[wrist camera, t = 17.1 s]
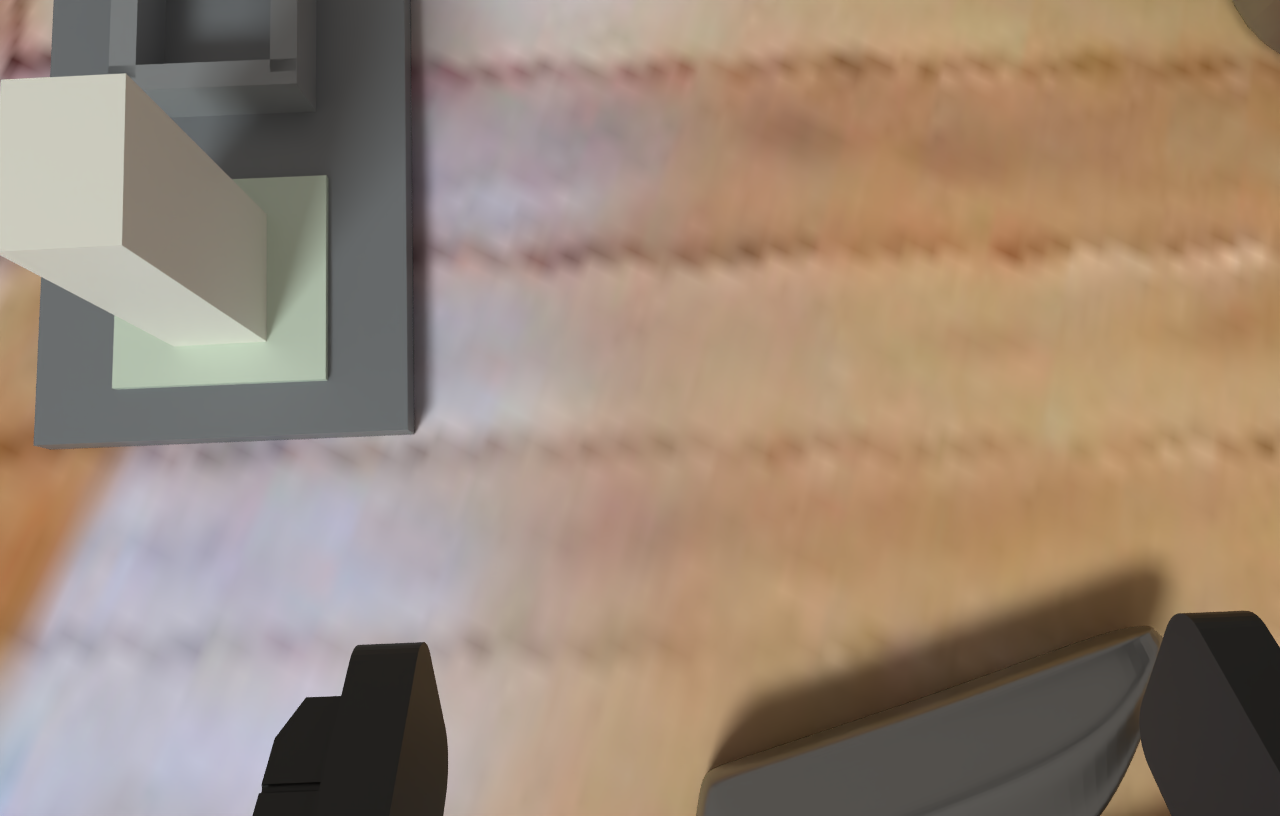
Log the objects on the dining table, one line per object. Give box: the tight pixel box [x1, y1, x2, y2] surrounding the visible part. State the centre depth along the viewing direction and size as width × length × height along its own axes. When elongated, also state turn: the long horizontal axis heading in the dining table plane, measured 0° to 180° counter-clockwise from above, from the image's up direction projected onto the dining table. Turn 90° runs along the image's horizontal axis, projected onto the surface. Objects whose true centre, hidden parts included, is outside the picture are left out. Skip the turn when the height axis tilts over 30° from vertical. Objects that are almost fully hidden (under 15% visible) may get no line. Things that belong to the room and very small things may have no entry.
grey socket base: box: [34, 0, 414, 449], centre depth 44 cm, size 14×24×5 cm, turn 2°
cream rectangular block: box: [0, 73, 267, 346], centre depth 38 cm, size 4×5×12 cm
